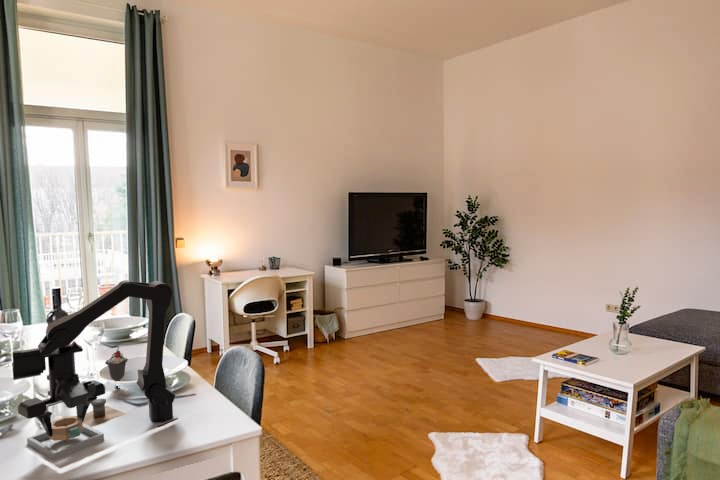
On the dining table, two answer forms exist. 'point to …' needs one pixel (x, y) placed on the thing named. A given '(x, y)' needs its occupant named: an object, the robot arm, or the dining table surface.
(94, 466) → the dining table surface
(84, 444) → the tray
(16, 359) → the robot arm
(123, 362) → the sundae
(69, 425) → the ring
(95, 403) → the wooden peg base
